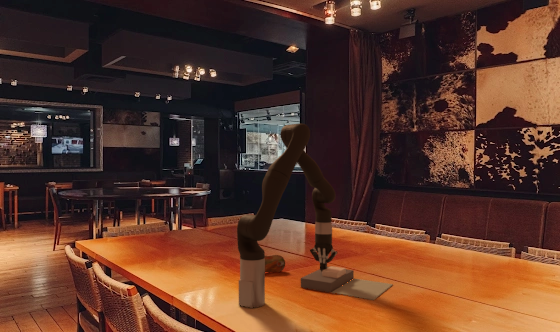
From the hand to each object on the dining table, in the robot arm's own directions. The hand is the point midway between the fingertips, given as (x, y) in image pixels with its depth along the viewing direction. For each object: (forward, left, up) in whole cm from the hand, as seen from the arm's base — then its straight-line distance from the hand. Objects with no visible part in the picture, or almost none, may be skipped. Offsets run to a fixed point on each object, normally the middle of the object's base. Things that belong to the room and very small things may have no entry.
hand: (323, 271), depth 189 cm
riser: (0, -2, -5) cm, 5 cm away
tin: (+2, +30, -5) cm, 30 cm away
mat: (0, -19, -5) cm, 19 cm away
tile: (0, -5, -1) cm, 5 cm away
